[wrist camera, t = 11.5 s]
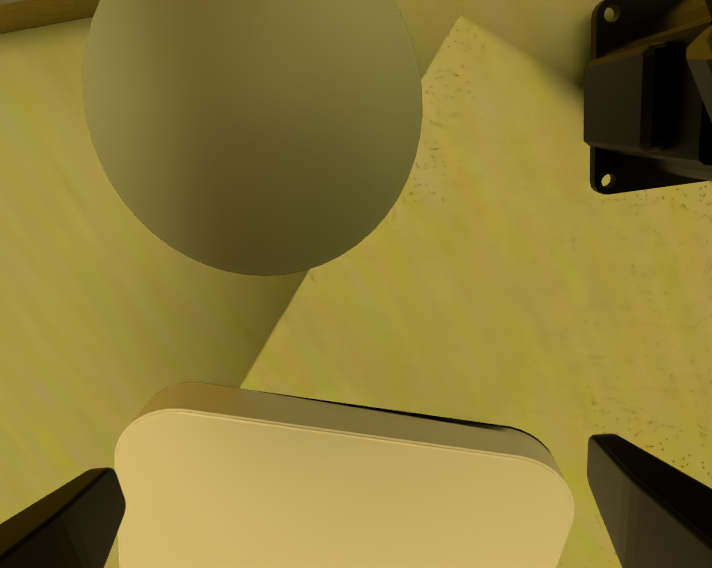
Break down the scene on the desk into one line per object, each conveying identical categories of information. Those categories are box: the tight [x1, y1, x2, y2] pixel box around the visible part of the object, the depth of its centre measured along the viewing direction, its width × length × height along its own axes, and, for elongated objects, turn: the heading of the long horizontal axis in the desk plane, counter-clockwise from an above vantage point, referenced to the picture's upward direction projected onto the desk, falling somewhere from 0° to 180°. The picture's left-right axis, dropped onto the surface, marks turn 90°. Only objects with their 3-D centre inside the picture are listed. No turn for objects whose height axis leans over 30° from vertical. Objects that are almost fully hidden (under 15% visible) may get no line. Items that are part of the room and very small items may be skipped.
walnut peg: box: [83, 0, 422, 276], centre depth 14 cm, size 6×6×12 cm
